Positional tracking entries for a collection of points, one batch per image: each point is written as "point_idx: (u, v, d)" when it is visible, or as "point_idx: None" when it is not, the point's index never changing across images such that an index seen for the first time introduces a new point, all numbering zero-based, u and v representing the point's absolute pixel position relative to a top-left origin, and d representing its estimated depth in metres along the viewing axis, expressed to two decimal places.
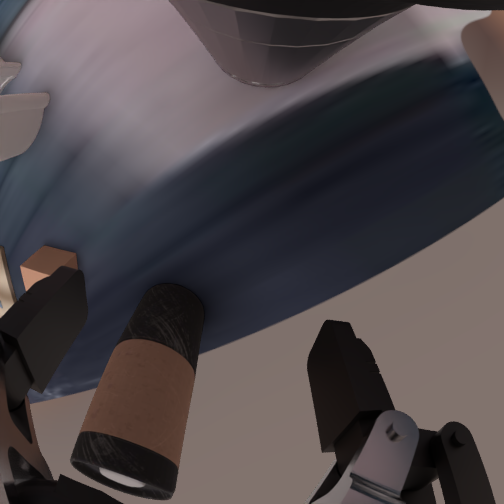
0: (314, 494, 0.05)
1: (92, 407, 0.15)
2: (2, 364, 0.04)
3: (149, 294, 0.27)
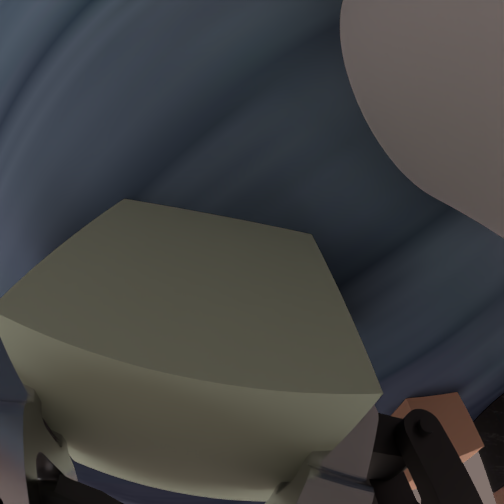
0: (280, 483, 0.05)
1: None
2: None
3: None
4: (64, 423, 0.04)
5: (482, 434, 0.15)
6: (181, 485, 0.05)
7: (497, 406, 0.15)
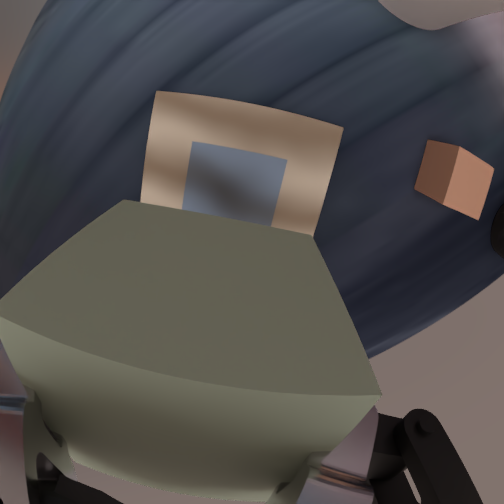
0: (280, 483, 0.05)
1: None
2: None
3: None
4: (64, 424, 0.04)
5: (501, 232, 0.22)
6: (181, 486, 0.05)
7: None
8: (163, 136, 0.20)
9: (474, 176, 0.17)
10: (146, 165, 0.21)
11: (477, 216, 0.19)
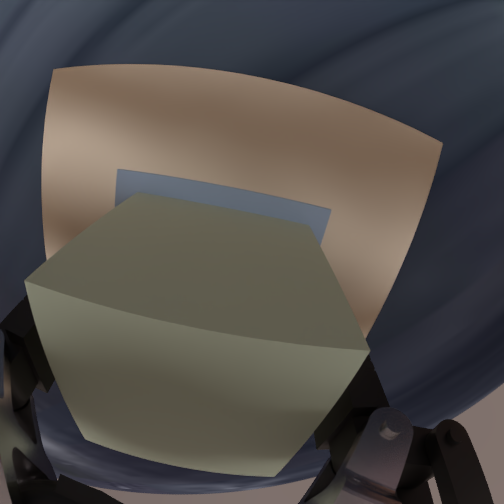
0: (309, 492, 0.05)
1: None
2: (8, 363, 0.04)
3: None
4: (82, 393, 0.05)
5: None
6: (188, 458, 0.06)
7: None
8: (64, 160, 0.09)
9: None
10: (45, 219, 0.10)
11: None
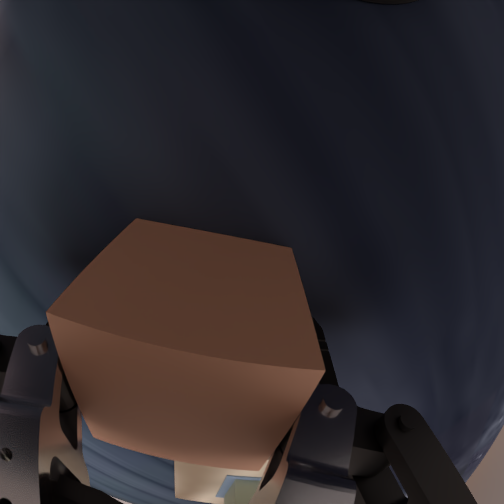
0: (263, 479, 0.05)
1: None
2: None
3: None
4: None
5: None
6: None
7: None
8: (211, 500, 0.20)
9: (134, 411, 0.05)
10: None
11: (304, 381, 0.05)
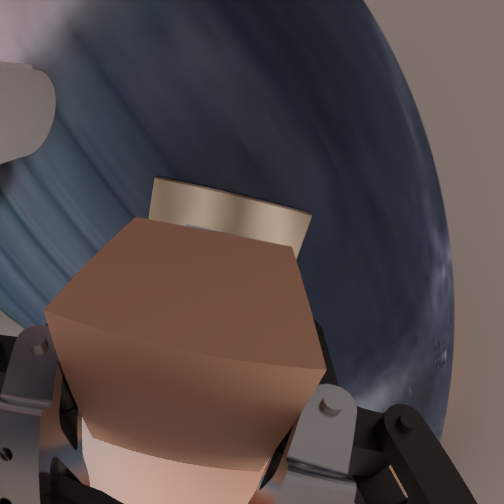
0: (263, 479, 0.05)
1: None
2: None
3: None
4: None
5: None
6: None
7: None
8: None
9: (133, 411, 0.05)
10: None
11: (304, 380, 0.04)
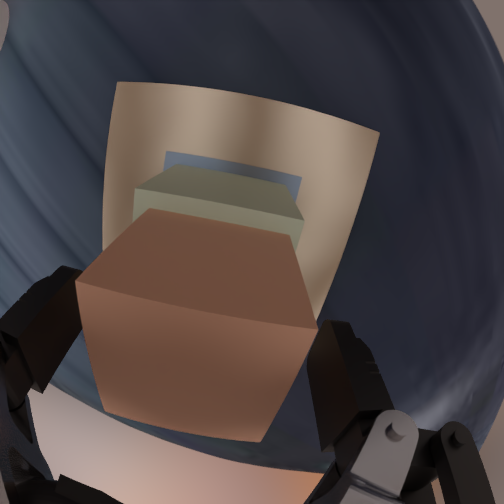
0: (314, 494, 0.05)
1: None
2: (3, 364, 0.04)
3: None
4: None
5: None
6: None
7: None
8: None
9: (148, 376, 0.06)
10: None
11: (300, 339, 0.06)
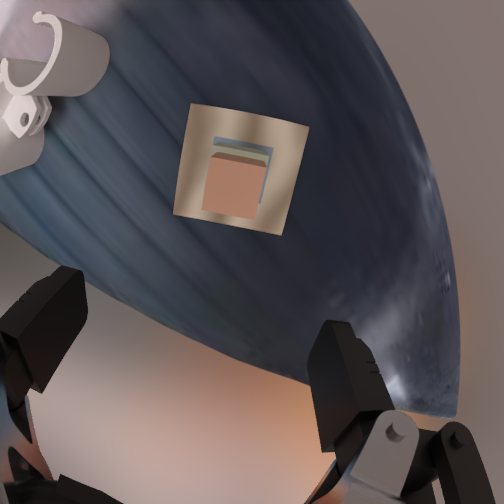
0: (314, 494, 0.05)
1: None
2: (2, 364, 0.04)
3: None
4: None
5: None
6: None
7: None
8: (200, 210, 0.37)
9: (223, 185, 0.25)
10: (218, 221, 0.38)
11: (262, 170, 0.24)
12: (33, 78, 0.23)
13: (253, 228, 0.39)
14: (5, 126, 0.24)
